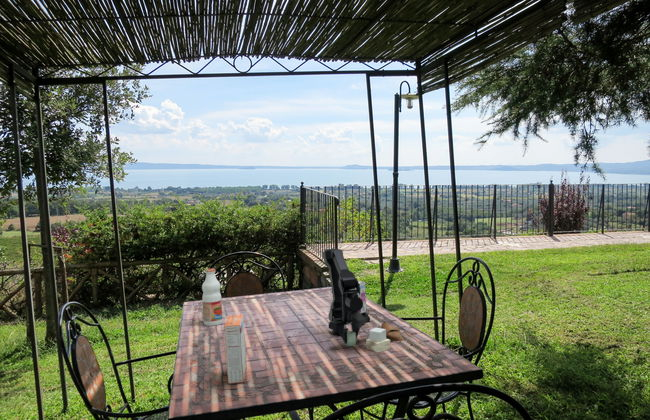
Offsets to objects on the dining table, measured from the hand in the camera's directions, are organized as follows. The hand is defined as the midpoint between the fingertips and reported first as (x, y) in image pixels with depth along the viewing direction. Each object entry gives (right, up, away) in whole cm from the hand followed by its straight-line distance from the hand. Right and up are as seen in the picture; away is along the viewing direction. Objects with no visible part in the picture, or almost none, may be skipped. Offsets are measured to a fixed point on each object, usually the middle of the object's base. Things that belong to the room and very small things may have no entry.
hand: (350, 341), depth 204 cm
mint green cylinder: (0, -1, 0) cm, 1 cm away
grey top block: (+11, +3, -7) cm, 13 cm away
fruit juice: (-68, -2, +40) cm, 79 cm away
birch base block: (+11, -1, -7) cm, 13 cm away
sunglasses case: (+19, 0, +10) cm, 22 cm away
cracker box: (-43, -5, -29) cm, 52 cm away
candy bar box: (+6, +2, +52) cm, 52 cm away
